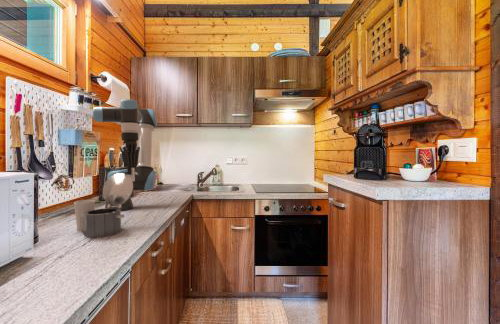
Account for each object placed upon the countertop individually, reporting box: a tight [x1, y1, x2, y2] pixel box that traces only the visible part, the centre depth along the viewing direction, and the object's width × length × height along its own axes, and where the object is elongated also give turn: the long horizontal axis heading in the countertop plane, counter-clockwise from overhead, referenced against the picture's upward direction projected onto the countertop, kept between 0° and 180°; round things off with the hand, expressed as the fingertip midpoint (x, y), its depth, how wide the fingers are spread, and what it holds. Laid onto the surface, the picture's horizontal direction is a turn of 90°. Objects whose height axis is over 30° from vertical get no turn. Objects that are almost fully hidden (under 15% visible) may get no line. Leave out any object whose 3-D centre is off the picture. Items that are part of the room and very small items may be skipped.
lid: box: [102, 173, 134, 208], centre depth 125 cm, size 16×15×3 cm
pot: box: [81, 206, 125, 239], centre depth 116 cm, size 15×19×10 cm
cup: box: [73, 199, 96, 232], centre depth 122 cm, size 8×8×12 cm
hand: (131, 181), depth 134 cm, fingers closed
